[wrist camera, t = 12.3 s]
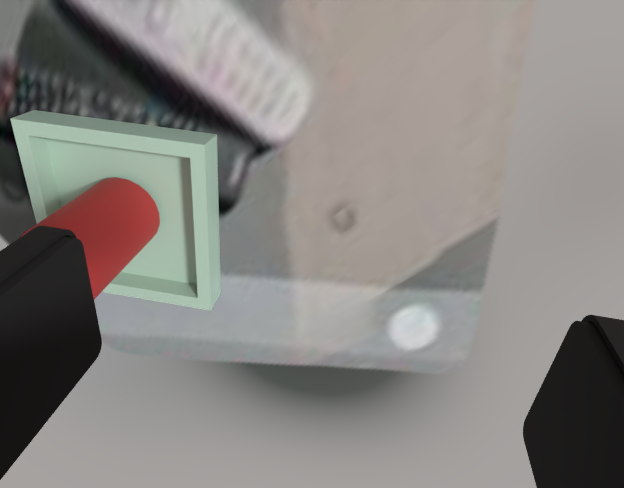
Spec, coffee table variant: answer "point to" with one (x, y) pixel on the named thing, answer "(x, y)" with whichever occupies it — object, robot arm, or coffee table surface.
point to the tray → (151, 177)
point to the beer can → (108, 226)
